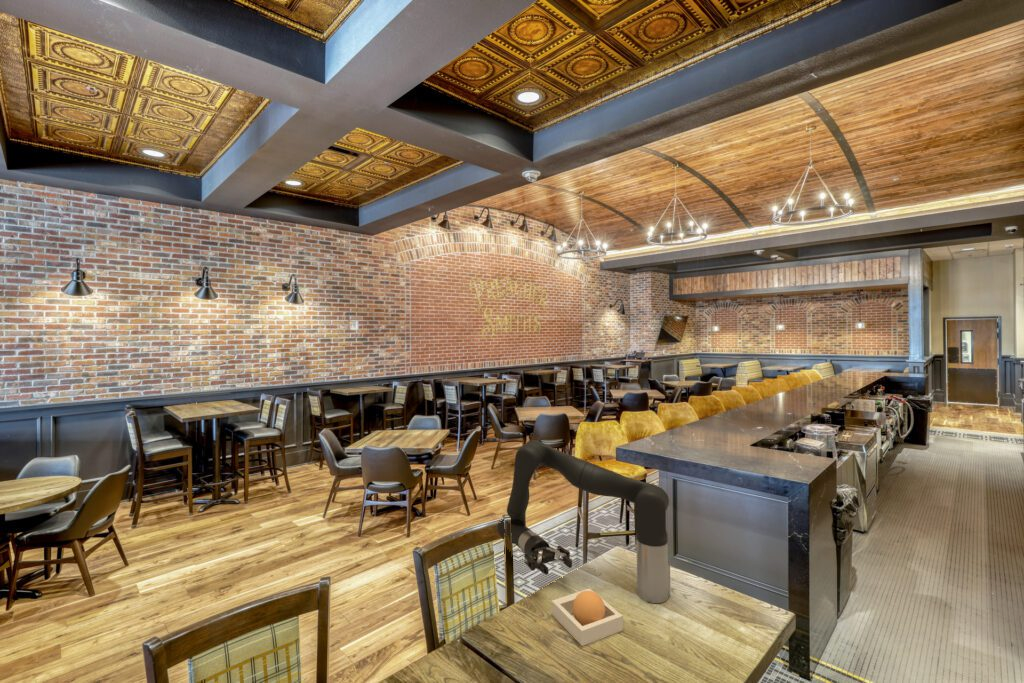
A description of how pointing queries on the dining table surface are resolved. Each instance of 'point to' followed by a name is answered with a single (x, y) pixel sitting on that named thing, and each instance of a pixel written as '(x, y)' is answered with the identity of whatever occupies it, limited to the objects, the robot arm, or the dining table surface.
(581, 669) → the dining table surface
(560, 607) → the white square frame
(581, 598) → the ball
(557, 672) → the dining table surface
